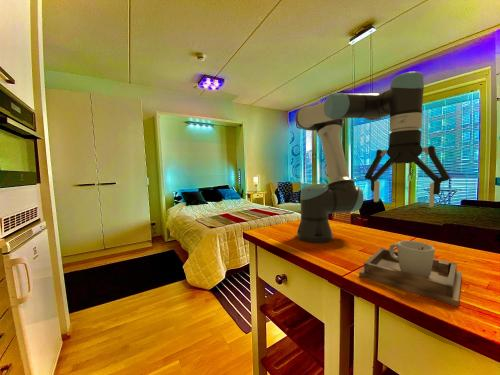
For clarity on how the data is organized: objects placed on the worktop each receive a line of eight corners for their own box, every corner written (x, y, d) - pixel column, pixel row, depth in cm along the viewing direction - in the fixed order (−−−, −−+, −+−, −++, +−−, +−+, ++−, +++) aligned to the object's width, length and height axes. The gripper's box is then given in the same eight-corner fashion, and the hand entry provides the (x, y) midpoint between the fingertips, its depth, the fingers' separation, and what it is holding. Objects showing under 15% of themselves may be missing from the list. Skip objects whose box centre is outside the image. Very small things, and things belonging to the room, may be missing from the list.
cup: (380, 266, 63) (381, 240, 62) (398, 261, 66) (399, 236, 65) (421, 284, 53) (422, 252, 52) (441, 277, 56) (442, 247, 55)
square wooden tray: (359, 276, 60) (359, 263, 60) (378, 257, 73) (378, 246, 72) (458, 306, 46) (458, 290, 46) (461, 276, 58) (462, 263, 58)
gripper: (354, 135, 69) (353, 201, 71) (465, 122, 50) (459, 211, 52) (363, 137, 74) (362, 198, 76) (466, 125, 55) (461, 206, 57)
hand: (401, 203), depth 64 cm, fingers open, 13 cm apart
